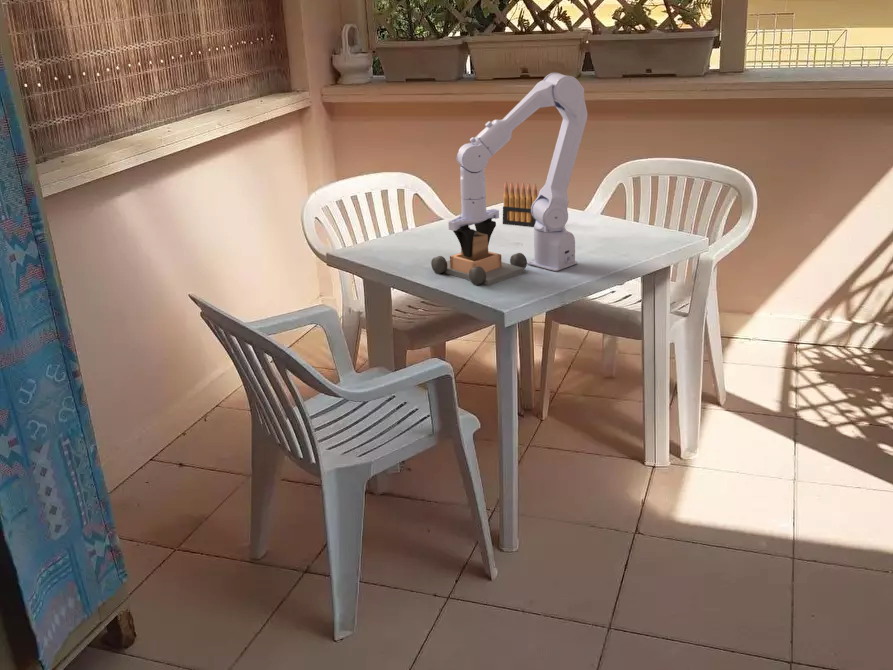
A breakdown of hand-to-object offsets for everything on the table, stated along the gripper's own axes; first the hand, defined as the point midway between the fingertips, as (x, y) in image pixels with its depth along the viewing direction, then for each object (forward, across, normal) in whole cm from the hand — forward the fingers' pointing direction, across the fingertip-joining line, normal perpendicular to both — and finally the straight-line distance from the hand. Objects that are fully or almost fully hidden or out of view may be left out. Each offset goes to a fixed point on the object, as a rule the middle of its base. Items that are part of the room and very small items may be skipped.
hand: (475, 253), depth 208 cm
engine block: (+2, 0, 0) cm, 2 cm away
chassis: (+5, -1, 0) cm, 5 cm away
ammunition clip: (+5, -38, -21) cm, 44 cm away
